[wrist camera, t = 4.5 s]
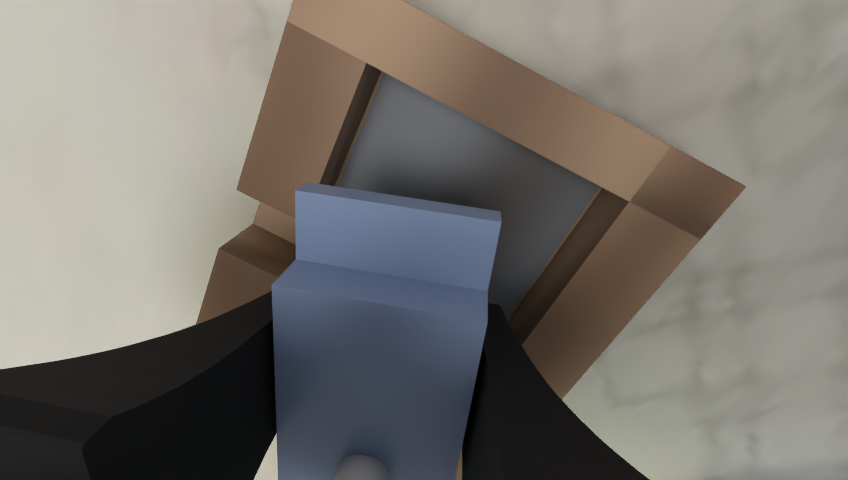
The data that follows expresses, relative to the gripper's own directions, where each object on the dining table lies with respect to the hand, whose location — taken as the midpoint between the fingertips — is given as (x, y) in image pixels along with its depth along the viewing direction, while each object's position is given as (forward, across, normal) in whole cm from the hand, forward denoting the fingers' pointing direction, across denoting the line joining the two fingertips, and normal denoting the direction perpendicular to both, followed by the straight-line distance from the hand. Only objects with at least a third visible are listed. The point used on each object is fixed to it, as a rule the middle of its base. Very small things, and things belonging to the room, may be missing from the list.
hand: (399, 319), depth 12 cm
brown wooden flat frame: (+4, 0, 0) cm, 4 cm away
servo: (+2, 0, 0) cm, 2 cm away
